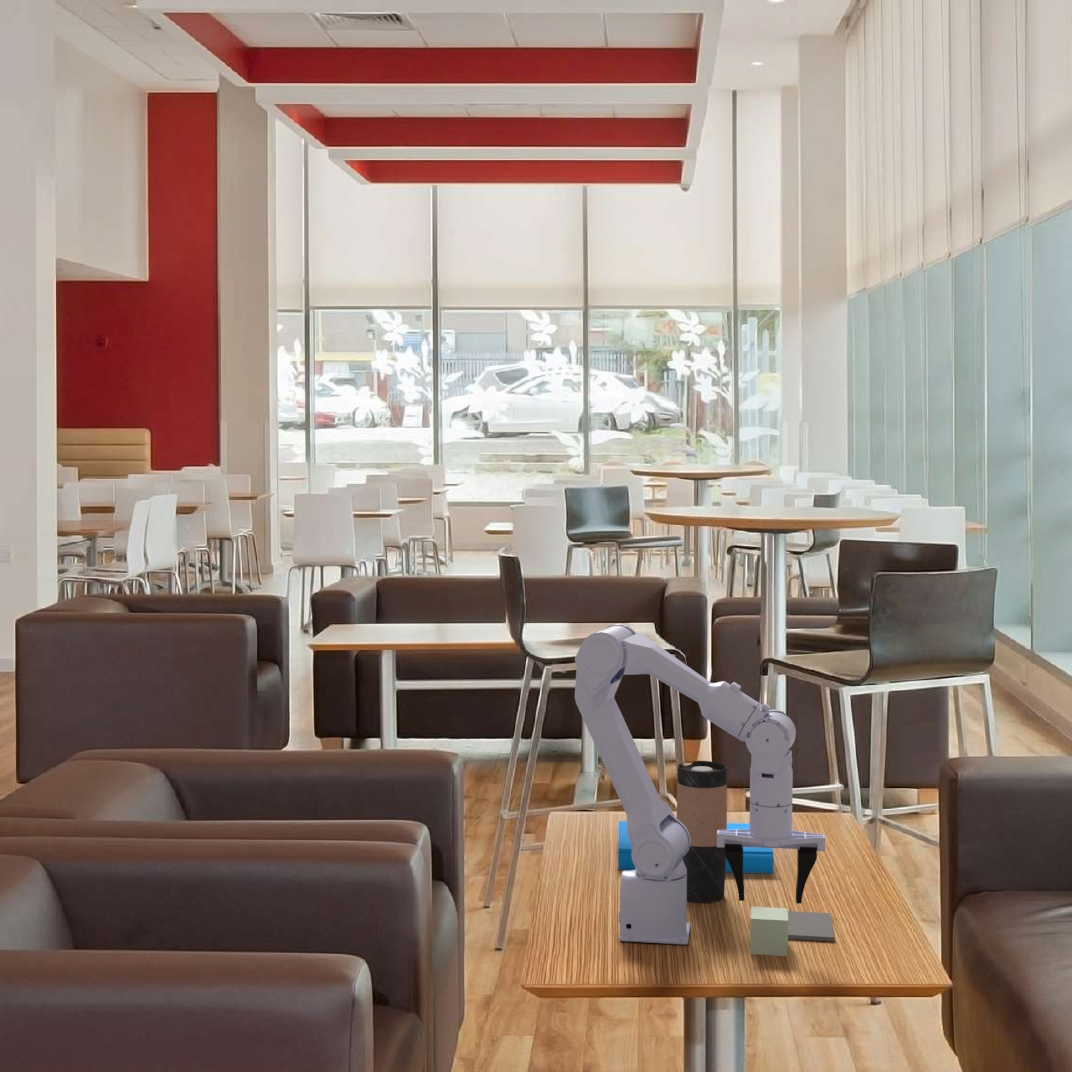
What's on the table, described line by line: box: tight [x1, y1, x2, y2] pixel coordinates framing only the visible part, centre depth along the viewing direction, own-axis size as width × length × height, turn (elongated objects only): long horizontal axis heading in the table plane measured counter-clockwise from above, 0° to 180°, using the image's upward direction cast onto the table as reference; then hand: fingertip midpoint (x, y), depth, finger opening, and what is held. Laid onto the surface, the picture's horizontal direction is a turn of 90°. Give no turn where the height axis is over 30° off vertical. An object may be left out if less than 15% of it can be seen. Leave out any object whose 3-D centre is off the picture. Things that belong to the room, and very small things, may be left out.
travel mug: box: [676, 760, 728, 904], centre depth 217 cm, size 8×8×20 cm
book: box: [617, 820, 774, 874], centre depth 237 cm, size 17×4×25 cm
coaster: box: [788, 910, 835, 942], centre depth 204 cm, size 10×10×1 cm
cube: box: [749, 906, 789, 957], centre depth 195 cm, size 5×5×5 cm
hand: (770, 899), depth 195 cm, fingers open, 7 cm apart
